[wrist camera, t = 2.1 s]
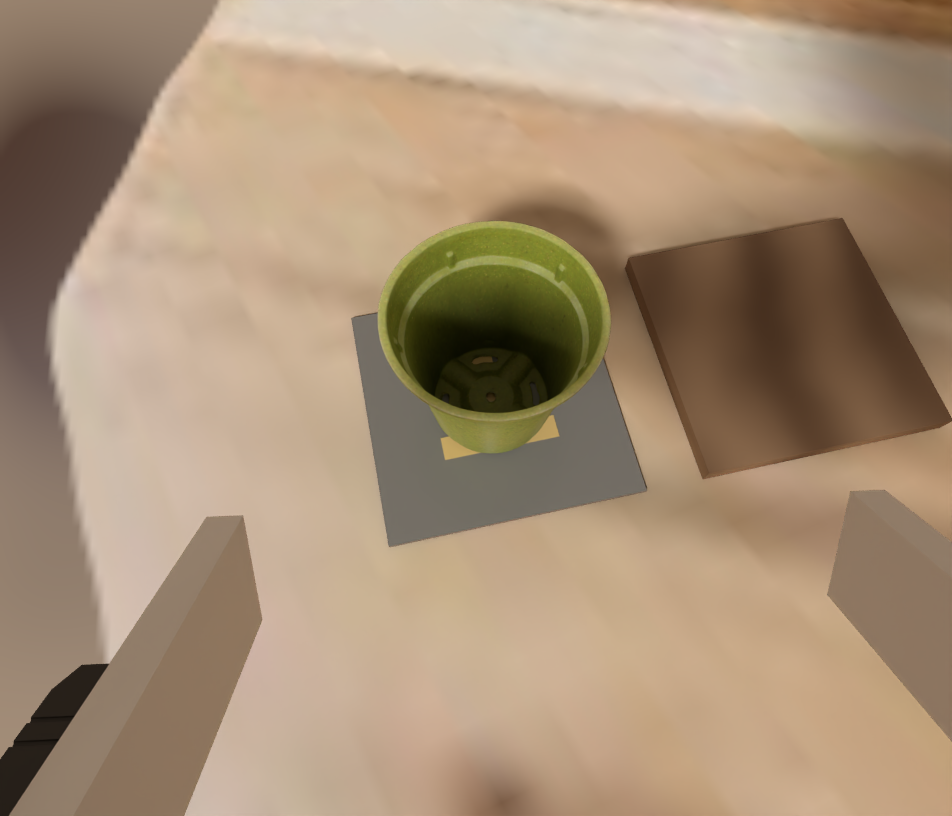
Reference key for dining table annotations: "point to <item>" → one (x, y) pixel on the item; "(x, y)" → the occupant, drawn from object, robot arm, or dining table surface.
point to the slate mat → (487, 455)
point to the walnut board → (781, 347)
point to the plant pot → (493, 328)
